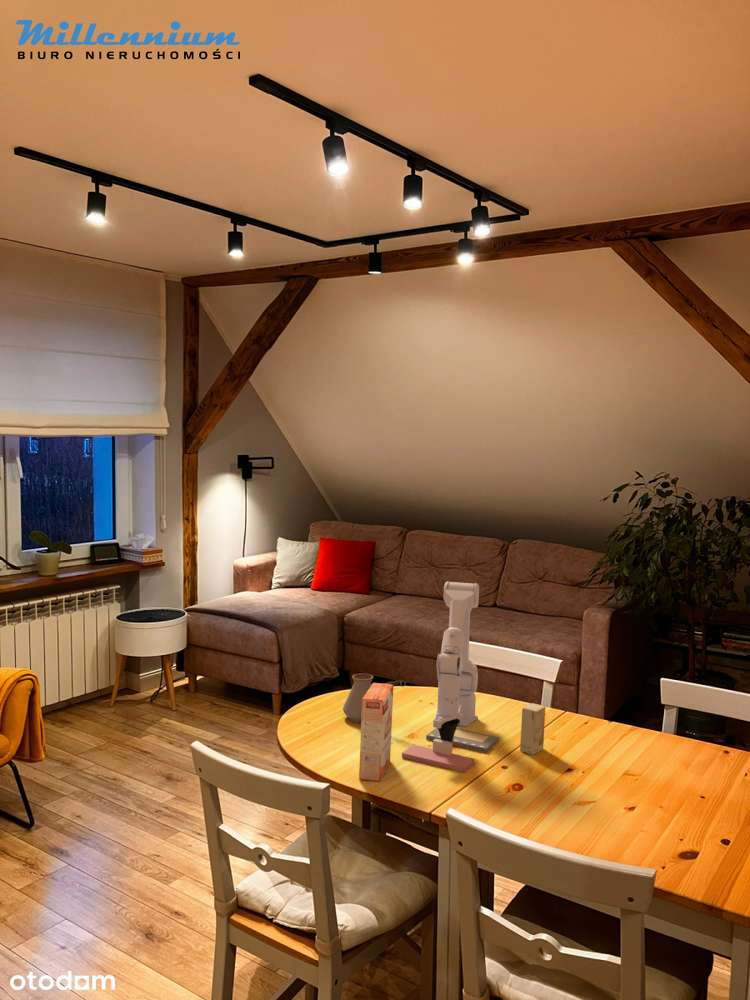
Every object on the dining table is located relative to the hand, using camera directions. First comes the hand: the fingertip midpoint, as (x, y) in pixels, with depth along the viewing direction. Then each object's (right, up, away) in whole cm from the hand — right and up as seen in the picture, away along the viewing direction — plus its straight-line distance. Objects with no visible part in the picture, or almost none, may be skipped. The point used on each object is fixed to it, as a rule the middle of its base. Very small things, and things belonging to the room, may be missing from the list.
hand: (446, 745), depth 222 cm
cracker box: (-19, -3, -12) cm, 23 cm away
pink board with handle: (-3, -2, -5) cm, 6 cm away
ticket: (+5, -1, +10) cm, 11 cm away
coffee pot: (-20, 0, +23) cm, 30 cm away
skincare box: (+24, -3, +4) cm, 24 cm away
